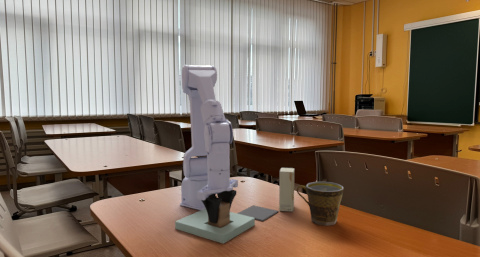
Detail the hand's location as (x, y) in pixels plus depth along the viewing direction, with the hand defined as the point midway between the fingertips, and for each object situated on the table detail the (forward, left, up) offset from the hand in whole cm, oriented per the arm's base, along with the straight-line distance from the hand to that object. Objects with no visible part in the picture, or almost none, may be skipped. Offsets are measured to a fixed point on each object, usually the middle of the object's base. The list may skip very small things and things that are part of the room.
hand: (219, 219), depth 89 cm
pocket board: (-2, +1, -3) cm, 4 cm away
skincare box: (+7, +25, -3) cm, 26 cm away
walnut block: (0, 0, -3) cm, 3 cm away
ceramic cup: (+19, +21, -3) cm, 28 cm away
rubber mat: (+2, +16, -3) cm, 16 cm away
